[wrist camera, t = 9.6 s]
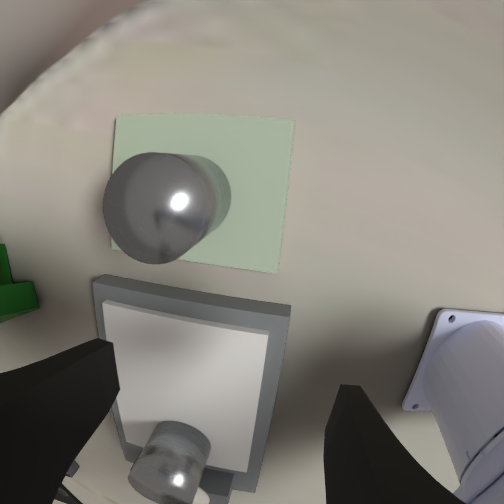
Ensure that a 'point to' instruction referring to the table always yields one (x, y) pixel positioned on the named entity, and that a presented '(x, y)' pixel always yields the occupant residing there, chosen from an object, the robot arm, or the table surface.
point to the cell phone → (66, 496)
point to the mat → (236, 170)
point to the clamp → (14, 292)
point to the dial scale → (195, 372)
